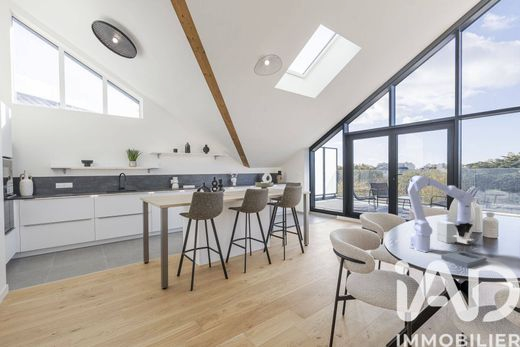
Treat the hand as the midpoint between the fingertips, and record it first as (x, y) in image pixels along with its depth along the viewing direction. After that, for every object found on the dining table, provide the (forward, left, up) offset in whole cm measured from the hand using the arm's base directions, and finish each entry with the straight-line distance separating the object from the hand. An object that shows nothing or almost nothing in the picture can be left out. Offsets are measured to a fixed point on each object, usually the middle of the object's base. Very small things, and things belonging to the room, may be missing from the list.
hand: (463, 236), depth 144 cm
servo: (0, 0, -4) cm, 4 cm away
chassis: (+8, -15, -9) cm, 19 cm away
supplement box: (-16, +13, -9) cm, 22 cm away
